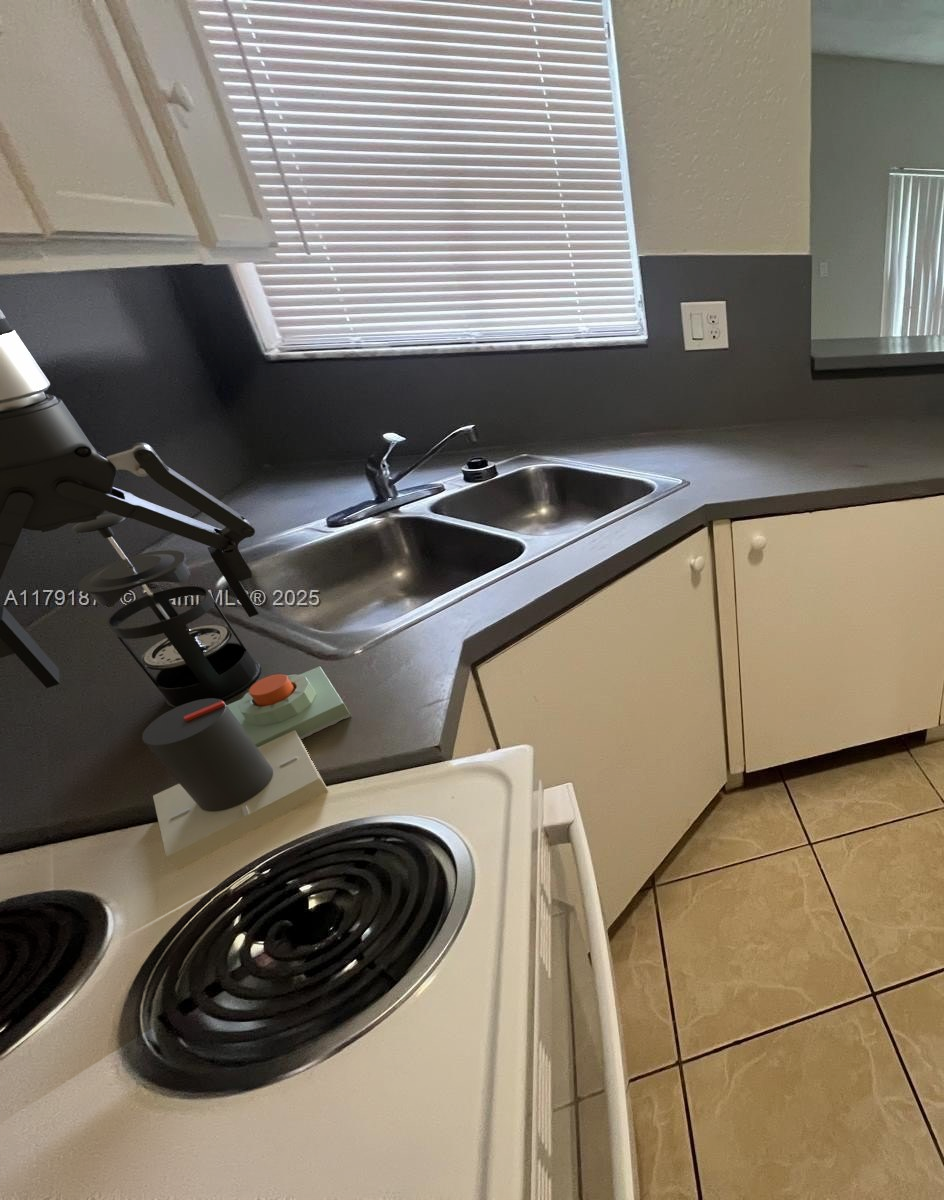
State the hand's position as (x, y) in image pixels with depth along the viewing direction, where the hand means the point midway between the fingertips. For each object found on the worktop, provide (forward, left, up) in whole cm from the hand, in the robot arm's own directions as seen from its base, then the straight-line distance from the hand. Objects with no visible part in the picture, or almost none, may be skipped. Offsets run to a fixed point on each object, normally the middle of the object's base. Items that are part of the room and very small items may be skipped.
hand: (159, 642), depth 56 cm
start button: (-8, +4, -14) cm, 17 cm away
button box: (-8, +5, -18) cm, 20 cm away
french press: (-23, 0, -18) cm, 29 cm away
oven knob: (+3, -1, -16) cm, 16 cm away
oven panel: (+3, -1, -18) cm, 18 cm away
